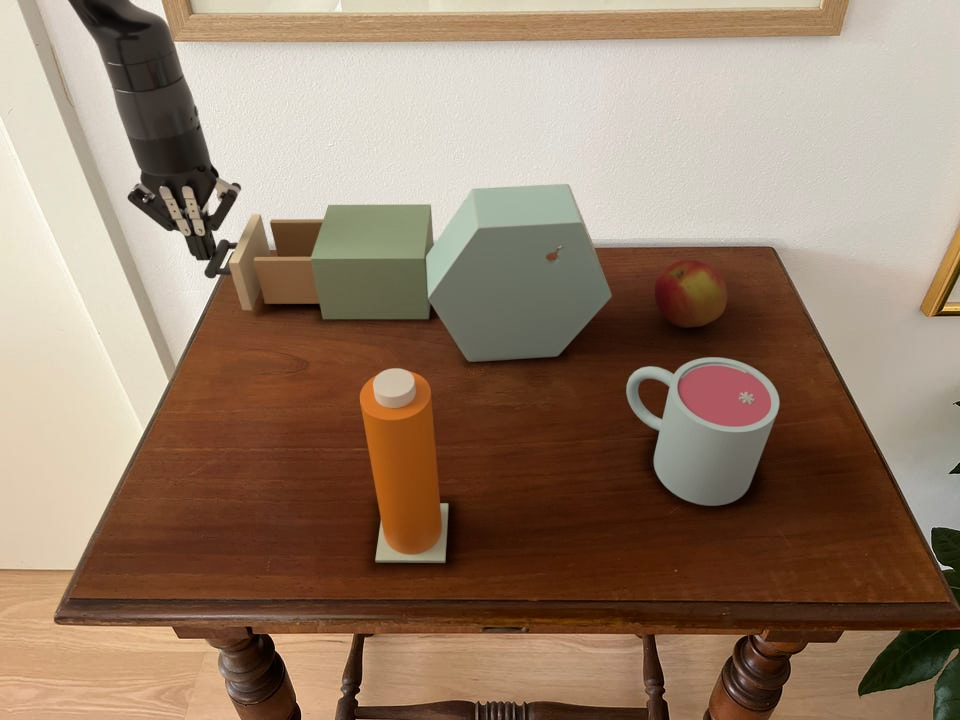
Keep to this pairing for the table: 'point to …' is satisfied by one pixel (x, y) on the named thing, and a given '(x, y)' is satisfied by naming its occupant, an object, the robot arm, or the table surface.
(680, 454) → the mug
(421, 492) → the juice bottle
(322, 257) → the cabinet
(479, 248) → the pale green hexagonal block
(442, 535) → the coaster
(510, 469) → the table surface
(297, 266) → the drawer
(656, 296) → the apple
